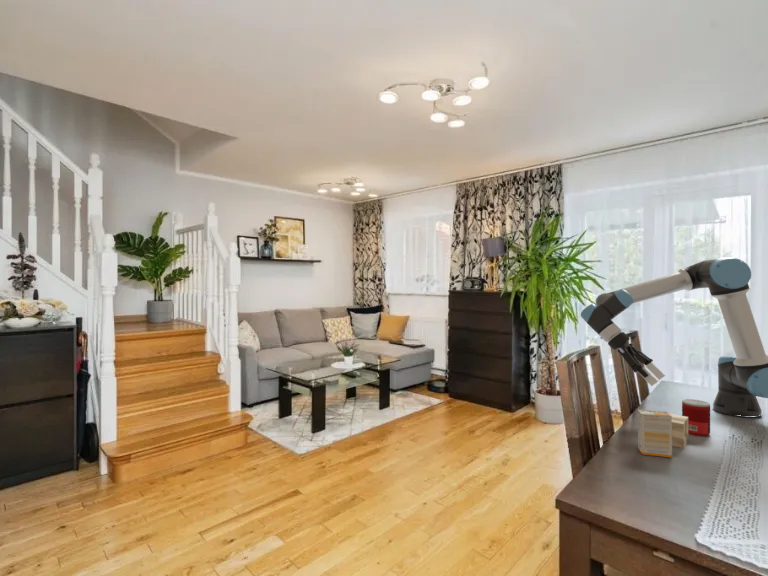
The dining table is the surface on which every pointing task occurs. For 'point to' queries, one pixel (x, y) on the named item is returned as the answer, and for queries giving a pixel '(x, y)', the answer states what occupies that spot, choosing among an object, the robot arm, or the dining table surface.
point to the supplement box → (655, 433)
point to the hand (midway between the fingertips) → (658, 380)
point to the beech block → (679, 430)
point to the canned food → (697, 416)
